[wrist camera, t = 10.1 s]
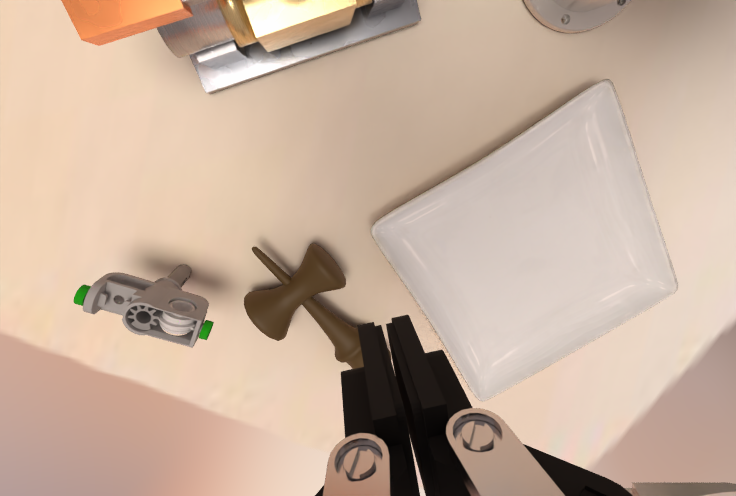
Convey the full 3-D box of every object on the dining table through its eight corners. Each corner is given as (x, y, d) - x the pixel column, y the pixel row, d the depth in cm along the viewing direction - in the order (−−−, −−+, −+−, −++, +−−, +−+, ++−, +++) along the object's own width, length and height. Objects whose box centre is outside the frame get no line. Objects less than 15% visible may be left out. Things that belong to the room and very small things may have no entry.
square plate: (657, 278, 48) (684, 292, 44) (469, 386, 50) (481, 407, 46) (589, 77, 39) (617, 73, 35) (362, 219, 41) (366, 229, 37)
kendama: (342, 376, 47) (222, 266, 40) (402, 329, 46) (290, 208, 39) (347, 411, 41) (209, 291, 34) (416, 359, 41) (288, 224, 34)
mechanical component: (136, 242, 38) (76, 283, 29) (236, 275, 40) (211, 322, 31) (129, 268, 39) (68, 316, 29) (228, 298, 41) (201, 351, 32)
